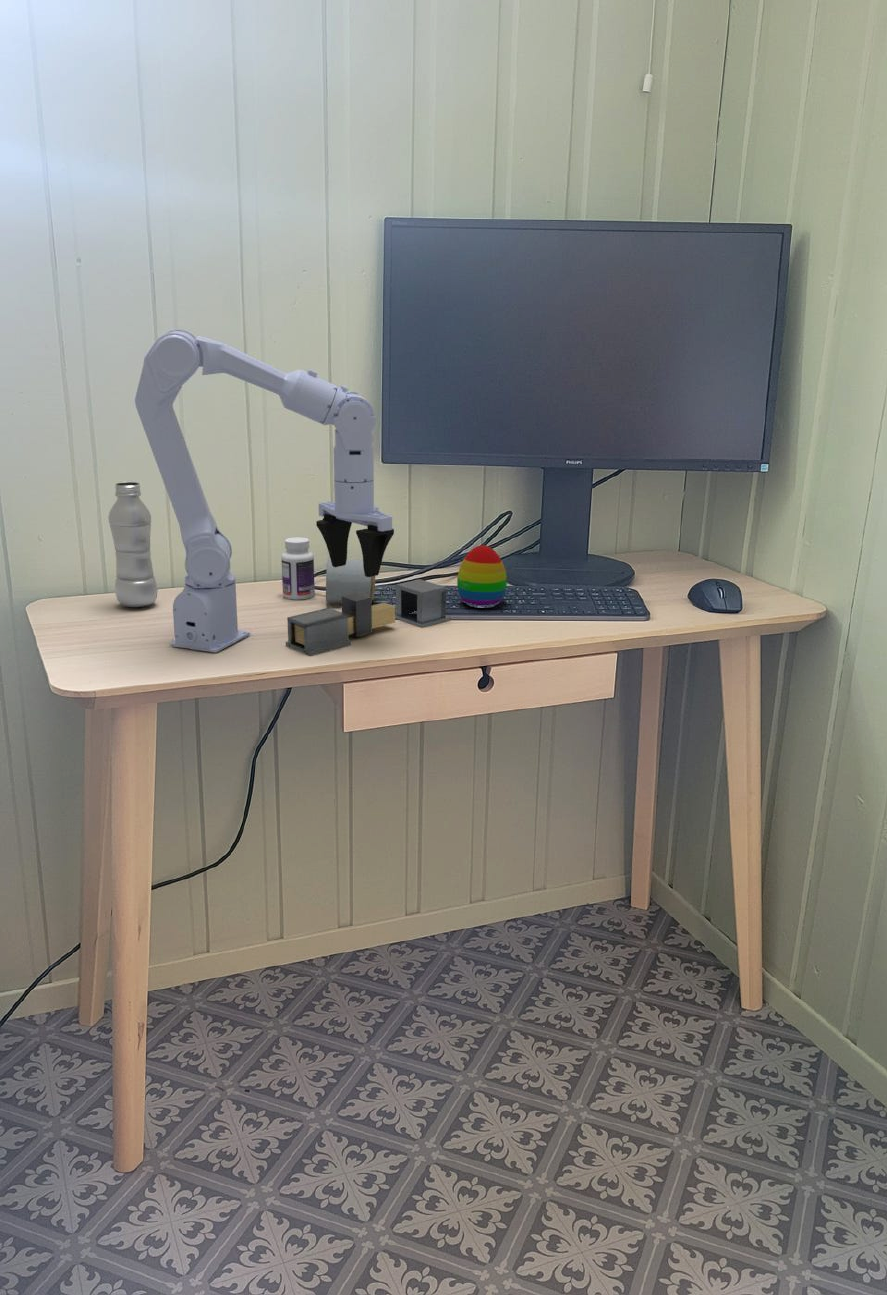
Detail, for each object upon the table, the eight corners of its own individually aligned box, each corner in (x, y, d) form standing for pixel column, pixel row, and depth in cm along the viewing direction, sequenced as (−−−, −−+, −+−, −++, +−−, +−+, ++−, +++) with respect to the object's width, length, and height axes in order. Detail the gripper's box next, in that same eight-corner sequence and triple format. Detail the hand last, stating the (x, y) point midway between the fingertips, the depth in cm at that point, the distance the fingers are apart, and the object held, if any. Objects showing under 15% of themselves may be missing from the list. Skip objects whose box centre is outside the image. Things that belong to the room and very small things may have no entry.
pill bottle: (317, 592, 187) (316, 536, 184) (311, 600, 182) (309, 543, 179) (286, 591, 187) (284, 535, 184) (279, 599, 182) (277, 542, 179)
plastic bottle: (153, 611, 175) (144, 487, 168) (111, 611, 175) (100, 487, 168) (163, 600, 181) (154, 480, 174) (122, 600, 181) (111, 480, 174)
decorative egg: (466, 613, 176) (467, 552, 173) (450, 599, 184) (451, 541, 180) (513, 609, 179) (515, 549, 176) (495, 595, 186) (497, 538, 183)
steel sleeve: (310, 655, 155) (309, 625, 154) (285, 645, 159) (284, 616, 158) (351, 644, 160) (350, 615, 159) (326, 635, 164) (325, 606, 163)
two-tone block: (307, 649, 156) (306, 612, 154) (293, 643, 159) (292, 607, 157) (396, 626, 167) (396, 591, 166) (382, 621, 170) (382, 587, 168)
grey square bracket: (422, 627, 168) (422, 593, 167) (391, 617, 173) (391, 584, 172) (450, 620, 172) (450, 587, 171) (419, 610, 177) (419, 578, 176)
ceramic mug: (375, 608, 178) (375, 562, 176) (325, 608, 177) (324, 562, 175) (375, 592, 188) (375, 548, 186) (328, 592, 188) (327, 548, 185)
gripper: (408, 483, 155) (408, 575, 159) (343, 470, 165) (345, 557, 169) (370, 488, 150) (371, 583, 155) (306, 475, 160) (309, 564, 165)
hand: (355, 570), depth 162 cm, fingers open, 7 cm apart
